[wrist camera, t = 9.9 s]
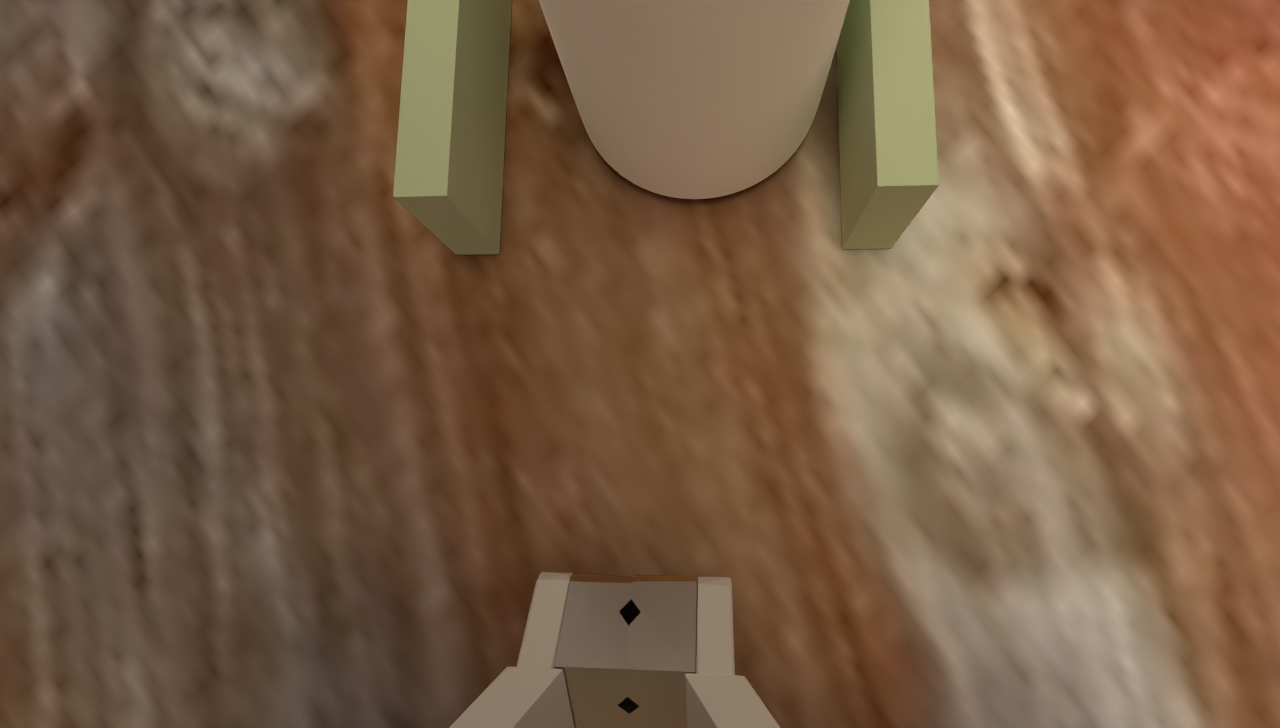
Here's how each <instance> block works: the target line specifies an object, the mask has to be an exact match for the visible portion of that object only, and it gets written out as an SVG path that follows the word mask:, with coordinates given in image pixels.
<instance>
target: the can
mask: <svg viewBox="0 0 1280 728" xmlns="http://www.w3.org/2000/svg"><path fill="white" fill-rule="evenodd" d="M849 1H850V0H539V2H540V5H541V8H542V11H543V14H544V16H545V19H546V22H547V25H548V28H549V31H550V33H551V36H552V39H553V42H554V45H555V48H556V50H557V53H558V56H559V59H560V62H561V64H562V67H563V70H564V73H565V76H566V78H567V81H568V84H569V87H570V90H571V92H572V95H573V98H574V101H575V103H576V106H577V109H578V111H579V114H580V117H581V119H582V122H583V124H584V127H585V129H586V132H587V134H588V136H589V138H590V140H591V141H592V143H593V145H594V146H595V148H596V150H597V151H598V152H599V154H600V155H601V156H602V158H603V159H604V160H605V161H606V162H607V163H608V164H609V165H610V166H611V167H612V168H613V169H614V170H615V171H616V172H618V173H619V174H620V175H621V176H623V177H624V178H626V179H627V180H629V181H630V182H632V183H634V184H635V185H637V186H639V187H641V188H644V189H646V190H648V191H651V192H654V193H657V194H660V195H664V196H669V197H674V198H682V199H707V198H715V197H721V196H725V195H729V194H733V193H736V192H739V191H741V190H744V189H746V188H749V187H751V186H753V185H755V184H757V183H759V182H760V181H762V180H764V179H765V178H767V177H768V176H770V175H771V174H773V173H774V172H775V171H777V170H778V169H779V168H780V167H781V166H782V165H783V164H785V163H786V162H787V161H788V160H789V158H790V157H791V156H792V155H793V154H794V153H795V152H796V150H797V149H798V148H799V146H800V145H801V143H802V142H803V140H804V139H805V137H806V135H807V133H808V131H809V129H810V127H811V125H812V123H813V120H814V118H815V115H816V112H817V109H818V106H819V103H820V100H821V97H822V93H823V90H824V87H825V84H826V80H827V77H828V73H829V70H830V67H831V63H832V60H833V56H834V53H835V50H836V46H837V43H838V39H839V36H840V32H841V29H842V25H843V22H844V18H845V15H846V11H847V8H848V5H849Z"/></svg>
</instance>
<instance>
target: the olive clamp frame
mask: <svg viewBox="0 0 1280 728" xmlns="http://www.w3.org/2000/svg"><path fill="white" fill-rule="evenodd" d="M511 10H512V0H408V4H407V18H406V31H405V44H404V57H403V71H402V84H401V97H400V111H399V124H398V137H397V150H396V164H395V177H394V190H393V197H394V198H395V199H396V200H397V201H398V202H399V203H400V204H401V205H402V206H403V207H404V208H406V209H407V210H408V211H409V212H410V213H411V214H412V215H413V216H414V217H415V218H416V219H417V220H419V221H420V222H421V223H422V224H423V225H424V226H425V227H426V228H427V229H428V230H429V231H431V232H432V233H433V234H434V235H435V236H436V237H437V238H438V239H439V240H440V241H441V242H443V243H444V244H445V245H446V246H447V247H448V248H449V249H450V250H451V251H452V252H453V253H455V254H456V255H476V254H499V253H500V233H501V212H502V192H503V172H504V152H505V131H506V111H507V91H508V71H509V50H510V30H511ZM836 60H837V92H838V125H839V157H840V189H841V222H842V249H891V247H892V246H893V245H894V243H895V242H896V241H897V239H898V238H899V237H900V235H901V234H902V233H903V231H904V230H905V229H906V227H907V226H908V225H909V224H910V222H911V221H912V220H913V218H914V217H915V216H916V214H917V213H918V212H919V210H920V209H921V208H922V206H923V205H924V204H925V203H926V201H927V200H928V199H929V197H930V196H931V195H932V193H933V192H934V191H935V189H936V188H937V187H938V185H939V179H938V161H937V143H936V124H935V106H934V87H933V69H932V51H931V32H930V14H929V0H850V1H849V5H848V8H847V11H846V15H845V18H844V22H843V25H842V29H841V32H840V36H839V39H838V43H837V46H836Z"/></svg>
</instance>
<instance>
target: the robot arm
mask: <svg viewBox="0 0 1280 728" xmlns="http://www.w3.org/2000/svg"><path fill="white" fill-rule="evenodd" d="M449 728H780V726H779V725H778V724H777V722H776V721H775V719H774V718H773V716H772V715H771V713H770V712H769V711H768V709H767V708H766V706H765V705H764V703H763V702H762V700H761V699H760V697H759V696H758V695H757V693H756V692H755V690H754V689H753V687H752V686H751V684H750V683H749V682H748V680H747V679H746V677H745V676H739V675H735V665H734V634H733V603H732V582H731V578H730V577H698V580H697V576H676V575H635V576H618V575H599V574H580V573H555V572H541V573H540V575H539V577H538V579H537V581H536V585H535V589H534V593H533V597H532V602H531V606H530V610H529V615H528V619H527V623H526V627H525V632H524V636H523V640H522V644H521V649H520V653H519V657H518V661H517V666H516V667H506V668H505V669H504V670H503V671H502V672H501V673H500V674H499V675H498V677H497V678H496V679H495V680H494V681H493V682H492V683H491V684H490V685H489V686H488V687H487V688H486V689H485V690H484V691H483V692H482V693H481V694H480V695H479V697H478V698H477V699H476V700H475V701H474V702H473V703H472V704H471V705H470V706H469V707H468V708H467V709H466V710H465V711H464V712H463V713H462V714H461V715H460V716H459V718H458V719H457V720H456V721H455V722H454V723H453V724H452V725H451V726H450V727H449Z"/></svg>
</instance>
